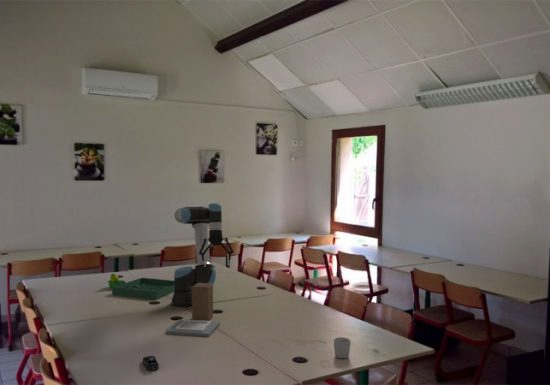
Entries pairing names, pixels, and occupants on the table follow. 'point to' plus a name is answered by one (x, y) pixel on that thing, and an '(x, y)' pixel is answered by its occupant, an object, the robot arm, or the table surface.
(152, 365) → the race car
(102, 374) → the table surface
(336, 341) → the cup
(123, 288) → the maze
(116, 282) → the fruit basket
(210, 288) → the wooden block
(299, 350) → the table surface
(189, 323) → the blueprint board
